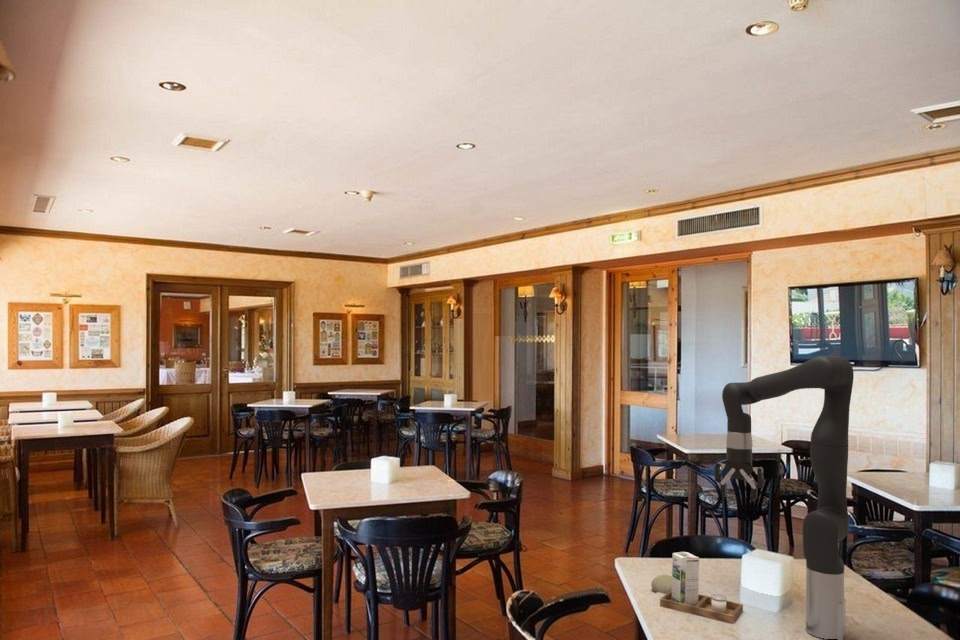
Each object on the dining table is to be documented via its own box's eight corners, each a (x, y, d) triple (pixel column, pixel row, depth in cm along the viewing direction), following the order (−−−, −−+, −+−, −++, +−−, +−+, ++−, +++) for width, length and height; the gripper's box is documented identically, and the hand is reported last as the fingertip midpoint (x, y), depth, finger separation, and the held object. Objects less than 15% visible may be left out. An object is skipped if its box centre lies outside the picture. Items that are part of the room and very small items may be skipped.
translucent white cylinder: (728, 612, 193) (728, 596, 193) (724, 616, 189) (724, 600, 190) (713, 608, 195) (713, 593, 195) (709, 613, 192) (709, 597, 192)
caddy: (742, 614, 194) (742, 604, 194) (732, 627, 185) (732, 616, 185) (672, 598, 206) (672, 588, 206) (659, 609, 196) (660, 599, 197)
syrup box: (670, 601, 200) (671, 552, 200) (687, 599, 202) (688, 551, 202) (682, 609, 194) (682, 558, 195) (699, 607, 196) (699, 556, 197)
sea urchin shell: (686, 592, 205) (667, 572, 207) (667, 609, 206) (648, 589, 208) (684, 582, 214) (665, 563, 216) (665, 598, 215) (647, 579, 217)
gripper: (712, 445, 211) (712, 497, 211) (760, 450, 203) (760, 504, 202) (719, 442, 217) (718, 493, 217) (766, 447, 209) (765, 499, 209)
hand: (738, 498), depth 210 cm, fingers open, 8 cm apart
